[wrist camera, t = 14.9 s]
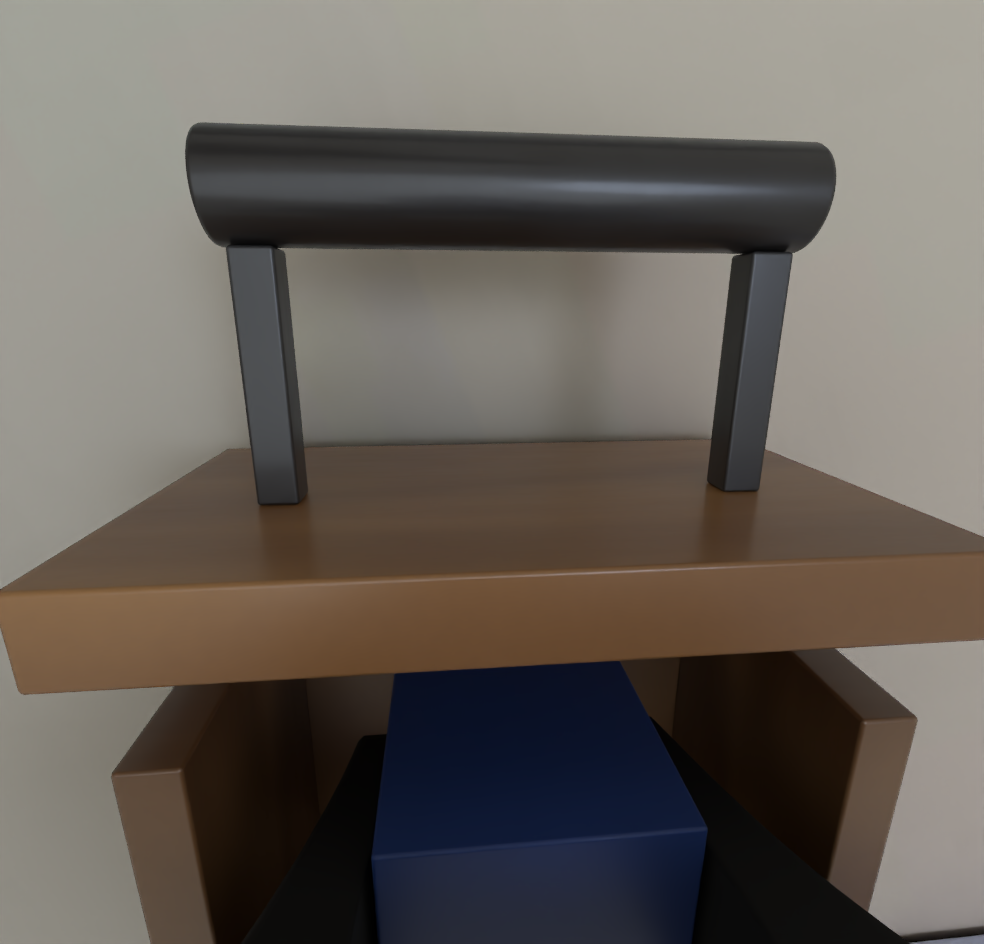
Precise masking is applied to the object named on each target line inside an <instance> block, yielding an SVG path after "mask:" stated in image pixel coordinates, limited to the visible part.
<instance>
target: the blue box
mask: <svg viewBox="0 0 984 944" xmlns="http://www.w3.org/2000/svg"><path fill="white" fill-rule="evenodd" d="M707 833H708V828H707V826H706V824H705V822H704V820H703V818H702V816H701V814H700V812H699V810H698V809H697V807H696V805H695V803H694V801H693V799H692V797H691V795H690V793H689V791H688V790H687V788H686V786H685V784H684V782H683V780H682V778H681V776H680V774H679V772H678V771H677V769H676V767H675V765H674V763H673V761H672V759H671V757H670V755H669V753H668V752H667V750H666V748H665V746H664V744H663V742H662V740H661V738H660V736H659V734H658V732H657V731H656V729H655V727H654V725H653V723H652V721H651V719H650V717H649V715H648V713H647V712H646V710H645V708H644V706H643V704H642V702H641V700H640V698H639V696H638V694H637V693H636V691H635V689H634V687H633V685H632V683H631V681H630V679H629V677H628V675H627V674H626V672H625V670H624V668H623V666H622V664H621V662H620V661H605V662H587V663H570V664H552V665H535V666H517V667H500V668H482V669H465V670H447V671H430V672H412V673H395V674H394V680H393V688H392V696H391V704H390V712H389V720H388V728H387V736H386V744H385V752H384V760H383V767H382V775H381V783H380V791H379V799H378V807H377V815H376V823H375V831H374V839H373V847H372V855H371V863H372V875H373V888H374V901H375V913H376V926H377V939H378V944H692V938H693V931H694V924H695V917H696V910H697V903H698V896H699V889H700V882H701V875H702V868H703V861H704V854H705V847H706V840H707Z"/></svg>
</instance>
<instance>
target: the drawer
mask: <svg viewBox="0 0 984 944" xmlns="http://www.w3.org/2000/svg"><path fill="white" fill-rule="evenodd" d="M185 159H186V171H187V179H188V184H189V189H190V193H191V197H192V201H193V204H194V207H195V210H196V213H197V216H198V218H199V220H200V223H201V225H202V227H203V229H204V231H205V232H206V234H207V235H208V237H209V238H210V239H211V240H212V241H213V242H214V243H215V244H217V245H219V246H221V247H226V253H227V261H228V269H229V277H230V285H231V293H232V301H233V309H234V317H235V325H236V333H237V341H238V349H239V357H240V365H241V373H242V381H243V389H244V397H245V405H246V413H247V421H248V429H249V437H250V446H251V449H227V450H225V451H224V452H222V453H221V454H219V455H217V456H216V457H214V458H212V459H211V460H209V461H208V462H206V463H204V464H203V465H201V466H199V467H198V468H196V469H195V470H193V471H191V472H190V473H188V474H187V475H185V476H183V477H182V478H180V479H178V480H177V481H175V482H174V483H172V484H170V485H169V486H167V487H165V488H164V489H162V490H161V491H159V492H157V493H156V494H154V495H152V496H151V497H149V498H148V499H146V500H144V501H143V502H141V503H140V504H138V505H136V506H135V507H133V508H131V509H130V510H128V511H127V512H125V513H123V514H122V515H120V516H118V517H117V518H115V519H114V520H112V521H110V522H109V523H107V524H105V525H104V526H102V527H101V528H99V529H97V530H96V531H94V532H92V533H91V534H89V535H88V536H86V537H84V538H83V539H81V540H80V541H78V542H76V543H75V544H73V545H71V546H70V547H68V548H67V549H65V550H63V551H62V552H60V553H58V554H57V555H55V556H54V557H52V558H50V559H49V560H47V561H45V562H44V563H42V564H41V565H39V566H37V567H36V568H34V569H33V570H31V571H29V572H28V573H26V574H24V575H23V576H21V577H20V578H18V579H16V580H15V581H13V582H11V583H10V584H8V585H7V586H5V587H3V588H2V589H0V628H1V631H2V635H3V638H4V642H5V645H6V649H7V652H8V656H9V660H10V663H11V667H12V670H13V674H14V677H15V681H16V684H17V688H18V691H19V692H20V693H21V694H24V695H27V694H44V693H62V692H79V691H97V690H114V689H132V688H149V687H167V686H174V688H173V689H172V691H171V692H170V693H169V695H168V696H167V698H166V699H165V700H164V702H163V703H162V704H161V706H160V707H159V709H158V710H157V711H156V713H155V714H154V716H153V717H152V718H151V720H150V721H149V722H148V724H147V725H146V727H145V728H144V729H143V731H142V732H141V734H140V735H139V736H138V738H137V739H136V741H135V742H134V743H133V745H132V746H131V747H130V749H129V750H128V752H127V753H126V754H125V756H124V757H123V759H122V760H121V761H120V763H119V764H118V766H117V767H116V768H115V770H114V771H113V772H112V776H111V778H112V783H113V787H114V791H115V795H116V799H117V804H118V808H119V812H120V816H121V820H122V825H123V829H124V833H125V837H126V841H127V846H128V850H129V854H130V858H131V862H132V867H133V871H134V875H135V879H136V883H137V888H138V892H139V896H140V900H141V904H142V909H143V913H144V917H145V921H146V925H147V930H148V934H149V938H150V942H151V944H241V942H242V941H243V940H244V938H245V937H246V935H247V934H248V932H249V931H250V929H251V928H252V927H253V925H254V924H255V922H256V921H257V919H258V918H259V916H260V915H261V913H262V912H263V910H264V909H265V907H266V906H267V904H268V903H269V901H270V899H271V898H272V896H273V895H274V893H275V892H276V890H277V888H278V887H279V885H280V884H281V882H282V881H283V879H284V877H285V876H286V874H287V873H288V871H289V870H290V868H291V866H292V865H293V863H294V862H295V860H296V859H297V857H298V855H299V854H300V852H301V850H302V849H303V847H304V845H305V843H306V842H307V840H308V838H309V836H310V835H311V833H312V831H313V829H314V828H315V826H316V824H317V822H318V821H319V819H320V817H321V815H322V814H323V812H324V810H325V808H326V807H327V805H328V803H329V801H330V799H331V797H332V795H333V793H334V792H335V790H336V788H337V786H338V784H339V782H340V780H341V778H342V776H343V774H344V772H345V770H346V768H347V766H348V763H349V761H350V759H351V757H352V755H353V752H354V750H355V748H356V745H357V743H358V741H359V740H360V739H361V738H362V737H363V736H365V735H380V734H387V728H388V720H389V712H390V704H391V696H392V688H393V680H394V674H395V673H412V672H430V671H447V670H465V669H482V668H500V667H517V666H535V665H552V664H570V663H587V662H605V661H620V662H621V664H622V666H623V668H624V670H625V672H626V674H627V675H628V677H629V679H630V681H631V683H632V685H633V687H634V689H635V691H636V693H637V694H638V696H639V698H640V700H641V702H642V704H643V706H644V708H645V710H646V712H647V713H648V715H649V716H651V717H652V718H653V719H654V720H655V721H656V722H657V723H658V724H659V725H660V726H661V727H662V728H663V729H664V730H665V731H666V732H667V733H668V734H669V735H670V736H671V737H672V738H673V739H674V740H675V741H676V742H677V743H678V744H679V745H680V746H681V747H682V748H683V749H684V750H685V751H686V752H687V753H688V754H689V755H690V756H691V757H692V758H693V759H694V760H695V761H696V762H697V763H698V764H699V765H700V766H701V767H702V768H703V769H704V770H705V771H706V772H707V773H708V774H709V775H710V776H711V777H712V778H713V779H714V780H715V781H716V782H717V783H718V784H719V785H720V786H721V787H722V788H723V789H724V790H725V791H726V792H727V793H729V794H730V795H731V796H732V797H733V798H734V799H735V800H736V801H737V802H738V803H739V804H740V805H741V806H742V807H743V808H744V809H746V810H747V811H748V812H749V813H750V814H751V815H752V816H753V817H754V818H755V819H756V820H757V821H758V822H759V823H761V824H762V825H763V826H764V827H765V828H766V829H767V830H768V831H769V832H771V833H772V834H773V835H774V836H775V837H776V838H777V839H779V840H780V841H781V842H782V843H783V844H784V845H786V846H787V847H788V848H789V849H790V850H791V851H793V852H794V853H795V854H796V855H797V856H798V857H800V858H801V859H802V860H803V861H804V862H805V863H807V864H808V865H809V866H810V867H811V868H812V869H814V870H815V871H816V872H817V873H819V874H820V875H821V876H822V877H823V878H825V879H826V880H827V881H828V882H830V883H831V884H832V885H833V886H835V887H836V888H837V889H838V890H840V891H841V892H842V893H844V894H845V895H846V896H848V897H849V898H850V899H851V900H853V901H854V902H855V903H857V904H858V905H859V906H861V907H862V908H863V909H864V910H866V911H867V912H868V910H869V906H870V902H871V899H872V895H873V891H874V887H875V883H876V879H877V875H878V872H879V868H880V864H881V860H882V856H883V852H884V848H885V845H886V841H887V837H888V833H889V829H890V825H891V822H892V818H893V814H894V810H895V806H896V802H897V798H898V795H899V791H900V787H901V783H902V779H903V775H904V771H905V768H906V764H907V760H908V756H909V752H910V748H911V744H912V741H913V737H914V733H915V729H916V725H917V721H918V720H917V717H916V716H915V715H914V714H913V713H912V712H910V711H909V710H908V709H907V708H906V707H904V706H903V705H902V704H901V703H900V702H898V701H897V700H896V699H895V698H894V697H892V696H891V695H890V694H889V693H888V692H886V691H885V690H884V689H883V688H882V687H880V686H879V685H878V684H877V683H876V682H874V681H873V680H872V679H871V678H870V677H868V676H867V675H866V674H865V673H864V672H862V671H861V670H860V669H859V668H858V667H857V666H855V665H854V664H853V663H852V662H851V661H849V660H848V659H847V658H846V657H845V656H843V655H842V654H841V653H840V652H839V651H837V650H836V649H835V648H850V647H868V646H885V645H903V644H920V643H938V642H956V641H973V640H984V537H982V536H979V535H977V534H975V533H972V532H970V531H967V530H965V529H962V528H960V527H957V526H955V525H952V524H950V523H947V522H945V521H942V520H940V519H937V518H935V517H932V516H930V515H927V514H925V513H922V512H920V511H917V510H915V509H912V508H910V507H907V506H905V505H902V504H900V503H898V502H895V501H893V500H890V499H888V498H885V497H883V496H880V495H878V494H875V493H873V492H870V491H868V490H865V489H863V488H860V487H858V486H855V485H853V484H850V483H848V482H845V481H843V480H840V479H838V478H835V477H833V476H830V475H828V474H826V473H823V472H821V471H818V470H816V469H813V468H811V467H808V466H806V465H803V464H801V463H798V462H796V461H793V460H791V459H788V458H786V457H783V456H781V455H778V454H776V453H773V452H771V451H768V450H766V449H765V444H766V437H767V430H768V424H769V417H770V410H771V403H772V396H773V389H774V382H775V375H776V368H777V361H778V354H779V347H780V340H781V333H782V326H783V319H784V312H785V305H786V298H787V291H788V284H789V277H790V270H791V263H792V256H793V255H792V253H795V252H797V251H799V250H801V249H803V248H804V247H806V246H807V245H808V244H809V243H810V242H811V241H812V240H813V239H814V238H815V236H816V235H817V234H818V232H819V231H820V229H821V227H822V226H823V224H824V222H825V220H826V218H827V215H828V213H829V210H830V207H831V204H832V201H833V197H834V192H835V185H836V167H835V161H834V158H833V156H832V154H831V152H830V151H829V149H828V148H827V147H825V146H824V145H823V144H821V143H818V142H797V141H766V140H734V139H703V138H672V137H640V136H609V135H577V134H546V133H515V132H483V131H452V130H421V129H389V128H358V127H327V126H295V125H264V124H233V123H197V124H195V125H193V126H192V127H191V128H190V130H189V132H188V135H187V140H186V149H185ZM278 248H319V249H401V250H483V251H565V252H647V253H730V254H740V255H736V256H733V258H732V264H731V272H730V281H729V290H728V299H727V307H726V316H725V325H724V333H723V342H722V351H721V360H720V368H719V377H718V386H717V395H716V403H715V412H714V421H713V429H712V438H711V439H704V440H654V441H603V442H553V443H502V444H452V445H402V446H351V447H304V442H303V432H302V422H301V411H300V401H299V391H298V380H297V370H296V360H295V349H294V339H293V329H292V319H291V308H290V298H289V288H288V277H287V267H286V257H285V253H284V251H282V250H280V249H278Z"/></svg>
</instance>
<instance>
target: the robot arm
mask: <svg viewBox="0 0 984 944" xmlns="http://www.w3.org/2000/svg"><path fill="white" fill-rule="evenodd" d="M649 717H650V719H651V721H652V723H653V725H654V727H655V729H656V731H657V732H658V734H659V736H660V738H661V740H662V742H663V744H664V746H665V748H666V750H667V752H668V753H669V755H670V757H671V759H672V761H673V763H674V765H675V767H676V769H677V771H678V772H679V774H680V776H681V778H682V780H683V782H684V784H685V786H686V788H687V790H688V791H689V793H690V795H691V797H692V799H693V801H694V803H695V805H696V807H697V809H698V810H699V812H700V814H701V816H702V818H703V820H704V822H705V824H706V826H707V828H708V833H707V840H706V847H705V854H704V861H703V868H702V875H701V882H700V889H699V896H698V903H697V910H696V917H695V924H694V931H693V938H692V944H984V935H976V936H967V937H958V938H949V939H940V940H930V941H921V942H912V943H909V942H907V941H906V940H904V939H903V938H902V937H900V936H899V935H898V934H896V933H895V932H893V931H892V930H891V929H889V928H888V927H887V926H885V925H884V924H883V923H881V922H880V921H879V920H877V919H876V918H875V917H874V916H872V915H871V914H870V913H868V912H867V911H866V910H864V909H863V908H862V907H861V906H859V905H858V904H857V903H855V902H854V901H853V900H851V899H850V898H849V897H848V896H846V895H845V894H844V893H842V892H841V891H840V890H838V889H837V888H836V887H835V886H833V885H832V884H831V883H830V882H828V881H827V880H826V879H825V878H823V877H822V876H821V875H820V874H819V873H817V872H816V871H815V870H814V869H812V868H811V867H810V866H809V865H808V864H807V863H805V862H804V861H803V860H802V859H801V858H800V857H798V856H797V855H796V854H795V853H794V852H793V851H791V850H790V849H789V848H788V847H787V846H786V845H784V844H783V843H782V842H781V841H780V840H779V839H777V838H776V837H775V836H774V835H773V834H772V833H771V832H769V831H768V830H767V829H766V828H765V827H764V826H763V825H762V824H761V823H759V822H758V821H757V820H756V819H755V818H754V817H753V816H752V815H751V814H750V813H749V812H748V811H747V810H746V809H744V808H743V807H742V806H741V805H740V804H739V803H738V802H737V801H736V800H735V799H734V798H733V797H732V796H731V795H730V794H729V793H727V792H726V791H725V790H724V789H723V788H722V787H721V786H720V785H719V784H718V783H717V782H716V781H715V780H714V779H713V778H712V777H711V776H710V775H709V774H708V773H707V772H706V771H705V770H704V769H703V768H702V767H701V766H700V765H699V764H698V763H697V762H696V761H695V760H694V759H693V758H692V757H691V756H690V755H689V754H688V753H687V752H686V751H685V750H684V749H683V748H682V747H681V746H680V745H679V744H678V743H677V742H676V741H675V740H674V739H673V738H672V737H671V736H670V735H669V734H668V733H667V732H666V731H665V730H664V729H663V728H662V727H661V726H660V725H659V724H658V723H657V722H656V721H655V720H654V719H653V718H652V717H651V716H649ZM386 736H387V734H380V735H365V736H363V737H362V738H361V739H360V740H359V741H358V743H357V745H356V748H355V750H354V752H353V755H352V757H351V759H350V761H349V763H348V766H347V768H346V770H345V772H344V774H343V776H342V778H341V780H340V782H339V784H338V786H337V788H336V790H335V792H334V793H333V795H332V797H331V799H330V801H329V803H328V805H327V807H326V808H325V810H324V812H323V814H322V815H321V817H320V819H319V821H318V822H317V824H316V826H315V828H314V829H313V831H312V833H311V835H310V836H309V838H308V840H307V842H306V843H305V845H304V847H303V849H302V850H301V852H300V854H299V855H298V857H297V859H296V860H295V862H294V863H293V865H292V866H291V868H290V870H289V871H288V873H287V874H286V876H285V877H284V879H283V881H282V882H281V884H280V885H279V887H278V888H277V890H276V892H275V893H274V895H273V896H272V898H271V899H270V901H269V903H268V904H267V906H266V907H265V909H264V910H263V912H262V913H261V915H260V916H259V918H258V919H257V921H256V922H255V924H254V925H253V927H252V928H251V929H250V931H249V932H248V934H247V935H246V937H245V938H244V940H243V941H242V942H241V944H378V939H377V926H376V913H375V901H374V888H373V875H372V863H371V855H372V847H373V839H374V831H375V823H376V815H377V807H378V799H379V791H380V783H381V775H382V767H383V760H384V752H385V744H386Z"/></svg>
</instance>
